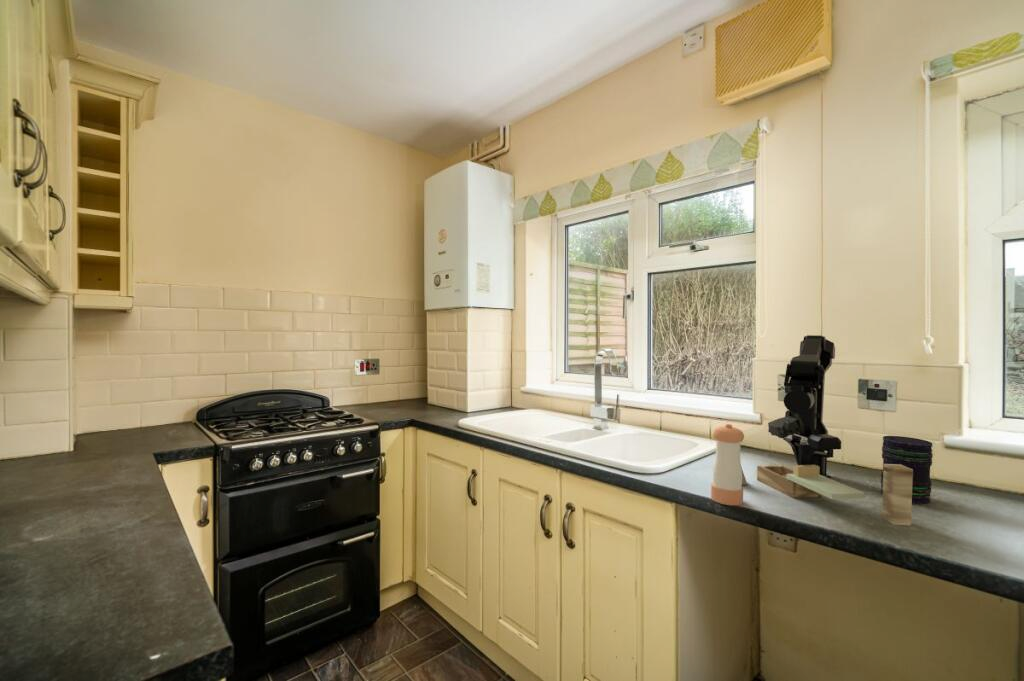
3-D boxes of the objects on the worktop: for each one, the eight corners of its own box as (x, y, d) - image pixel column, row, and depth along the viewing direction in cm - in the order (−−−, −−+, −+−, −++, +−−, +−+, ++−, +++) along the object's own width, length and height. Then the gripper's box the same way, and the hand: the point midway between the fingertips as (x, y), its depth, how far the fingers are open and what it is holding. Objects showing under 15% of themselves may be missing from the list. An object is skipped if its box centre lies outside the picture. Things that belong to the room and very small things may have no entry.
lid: (815, 477, 119) (816, 463, 119) (864, 498, 104) (865, 482, 104) (786, 478, 118) (786, 464, 118) (831, 499, 103) (832, 483, 103)
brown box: (881, 517, 104) (883, 463, 104) (899, 518, 104) (900, 464, 103) (893, 524, 100) (894, 468, 100) (911, 525, 100) (913, 469, 100)
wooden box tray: (782, 479, 130) (783, 465, 130) (821, 496, 117) (821, 481, 116) (756, 479, 130) (757, 465, 129) (792, 497, 116) (793, 482, 116)
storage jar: (931, 497, 117) (933, 440, 117) (931, 508, 110) (933, 447, 110) (881, 488, 124) (883, 433, 124) (878, 497, 117) (880, 440, 117)
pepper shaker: (706, 500, 113) (708, 424, 113) (716, 492, 119) (718, 420, 118) (737, 508, 108) (739, 428, 108) (746, 500, 114) (748, 424, 113)
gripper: (751, 402, 126) (749, 457, 126) (801, 415, 107) (799, 480, 108) (788, 402, 127) (786, 457, 128) (844, 415, 109) (841, 479, 109)
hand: (801, 467), depth 118 cm, fingers closed
